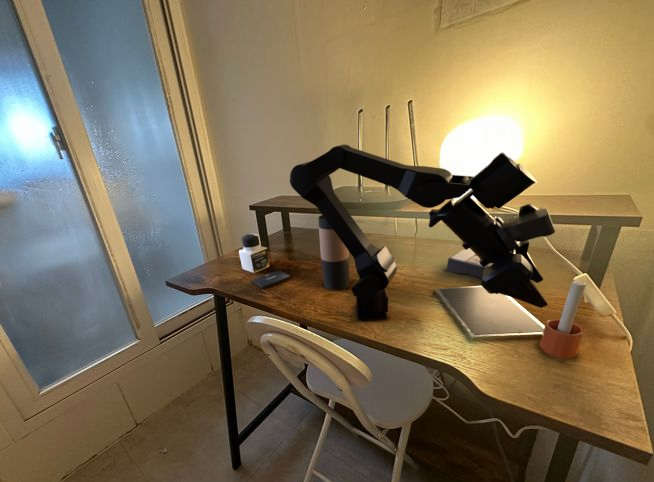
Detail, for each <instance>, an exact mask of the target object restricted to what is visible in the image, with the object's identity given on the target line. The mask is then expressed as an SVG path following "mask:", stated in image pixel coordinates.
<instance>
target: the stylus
mask: <svg viewBox="0 0 654 482" xmlns="http://www.w3.org/2000/svg"><path fill="white" fill-rule="evenodd" d="M586 286H587V284H586V283H585V282H584V281H581V280H573V281H571V284H570V287H569V290H568V293H567V297H566V300H565V303H564V306H563V309H562V313H561V315H560V322H559V325H558V328H557V331H558V332H561V333H565V334H569V333H570V330H571V327H572V324H573V323H574V322H575V318H576V315H577V312H578V309H579V306H580V303H581V300H582V297H583V295H584V292H585V289H586Z"/></svg>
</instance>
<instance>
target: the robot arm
mask: <svg viewBox="0 0 654 482" xmlns="http://www.w3.org/2000/svg"><path fill="white" fill-rule="evenodd" d="M339 169H341V170H344V171H346V172H349V173H352V174H355V175H357V176H359V177H360V176H361V177H363V178H366V179H369V180H371V181H374V182H377V183H380V184H382V185H385V186H388V187H391V188H393V189H394V190H396V191H398V192H399V193H400V194H402V196H403V197H404V198H406V199H408V200H409V201H412V202H413V203H415V204H417V205H418V206H420V207H423V208H425V209H430V211H429V212H428V216H429V220H428V227H429V228H434V227H435V226H436V225H438V224H439V222H442V223H443V224H444V225H445V226H446V227H447V228H448V229H449V230H450V231H451V232H452V233H453V234H454V235H456V237H457V238H458V239H460V241H461V242H462V243H461V244H462V245H461V247H463V249H466V250H467V249H468V248H470V249H471V250H472V251H473V252H474V253H475V254H476V255H477V256H478V257H479V258H480V262H479V263H480V264H481V265H482V266H483V267H485V266H486V265H488V264H490V263H492V265H491V266H489V267H487V268H485V269H484V270H483V276H482V278H481V283H480V286H482V287H483V288H484V289H485V290H486V291H487V292H488V293H489V294H493V293H495V294H498V293H499V294H503V295H506V296H509V297H511V298H512V299H514V300H518V301H521V302H524V303H526V304H528V305H532V306H535V307H537V308H540V309H542V308H545V307H547V306H548V305H549V304H548V301H547V300H546V299H545V297H544V296H543V295H542V293H541V291H540V290H539V289H538V288H537V286H536V285H535V283H536V284H539V283H541V282H543V281H544V277H543V276H542V274H541V272H540V271H539V268H538V267H537V266H536V264H535V262H534V261H533V259H532V257H531V256H530V253H529V247H530V240H533V239H537V238H540V237H543V238H546V237H548V236H551V235H554V234H555V233H556V230H555V227H554V224H553V221H552V219H551V215H550V213H549V210H548V208H547V207H544V206H541V207H539V208H538V207H537V206H535V205H534V204H532V203H527V204H525V205H521V206H520V207H519V209H518V213H517V216H516V215H514V216H512V218H510V219H507V220H503V219H502V218H501V217H500V216H496V215H494V216H492V215H491V214H489V212H488V211H486V210H485V209H484V208H486V209H491V210H493V209H494V208H496V209H499V210H500V209H502V208H503V207H505V206H506V205H507V204H509V203H510V202H511V201H513V200H514V199H516V198H517V197H519V196H520V195H522V194H523V193H524V192H526V191H527V190H529V189H530V188H532V187H533V186H535V185H536V184H538V181H537V180H536V178H535V177H533V175H532V174H531V173H530V172H529V171H528V170H527V169H526V168H525V167H524V166H523V165H521V163H517V162H516V161H514V160H513V159H512V158H511V157H509V156H508V155H506V154H505V152H499V154H497V155H496V156H495V157H494V158H493V159H492V160H491V161H490V163H489V164H488V165H486V166H484V168H483V169H481V170H480V171H479V172H477V173H476V174H475V175H474V176H471V175H461V174H460V175H459V174H452V173H451V172H450V171H449V170H448V169H446V168H443V167H442V168H441V167H434V166H433V167H432V166H427V165H426V166H425V165H410V164H404V163H400V162H397V161H395V160H391V159H389V158H385V157H382V156H378V155H377V154H373V153H369V152H366V151H363V150H360V149H357V148H354V147H352V146H351V145H349V144H343V143H342V144H340V145H339V144H338V145H336V146H333V147H332V148H330V149H329V150H328V151H326V152H325V153H323V154H322V155H320V156H318V157H316V158H315V159H312V160H310V161H306V162H303V163H299V164H296V165H295V166H294V167H292V169H291V170H290V175H289V184H290V186H291V188H292V189H293V191H295V192H296V193H297V194H298V195H299V196H300V197H301V198H302V199H303V200H305V201H307V202H308V203H310V204H312V205H314V206H315V207H316V208H317V210H318V211H319V213H320V214H321V215H323V216H324V218H325V219H326V220H327V222H328V223H329V225H330V226H331V227H332V229H333V230H334V231H335V233H336V234H337V236H338V237H339V238H340V240H341V241H342V242H343V244H344V245H345V246H346V248H347V249H348V251H349V254H350V255H351V256H352V258H353V260H354V265H355V270H356V273H357V275H358V277H359V278H358V280H356V282H355V283H354V284H353V285H352V286H351V288H350V289H351V292H352V294H353V297H355V305H354V308H355V313H356V317H357V320H358V321H374V320H375V321H376V320H387V319H388V315H387V313H388V312H389V295H388V294H387V291H386V289H387V287H388V286H389V284H390V283H391V281H392V280H393V278H394V277H395V275H396V274H397V269H398V267H397V264H396V261H397V259H396V258H395V257H394V256H393V255H392V254H391V253H390V251H389V249H388V247H387V246H386V245H383V246H382V247H381V248H378V247H377V246H375V245H374V244H372V242H371V241H370V240H369V239H368V237H367V236H366V234H365V233H364V232H363V230H362V229H361V227H360V226H359V225H358V224H357V222H356V221H355V219H354V218H353V216H352V215H351V213H350V212H349V211H348V210H347V208H346V207H345V206H344V204H343V203H342V202H341V200H340V199H339V197H338V196H337V194H336V193H335V192H334V187H333V182H332V178H331V176H330V175H332V174H333V173H335V172H337V171H338V170H339ZM472 196H473V197H474V198H475V199H476V200H477V201H478V202H477V201H476V200H475V199H474V198H473V197H472ZM458 198H459V199H458ZM457 199H458V200H457ZM447 200H448V201H447ZM446 201H447V202H446ZM443 203H444V204H443ZM479 203H480V204H479ZM442 204H443V205H442ZM441 205H442V206H441ZM481 205H482V206H483V207H482V206H481ZM437 206H440V208H437V209H435V208H436V207H437Z"/></svg>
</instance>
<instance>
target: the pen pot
mask: <svg viewBox="0 0 654 482" xmlns="http://www.w3.org/2000/svg"><path fill="white" fill-rule="evenodd" d="M560 319H561V318H560ZM560 319H559V318H553V319H549V320H547V321H546V322H545V324H544V326H545V327H544V331H543V334H542V337H540V340H539V347H540V349H541V350H542V351H544V352H545V353H546V354H548V355H550V356H553V357H555V358H560V359H561V358H562V359H572V358H575V357H576V356H577V354H578V352H579V349H580V346H581V344H582V340H583V338H584V335H585V333H586V331H585V329H584V327H582V326H581V325H579V324H578V323H576V322H573V324H572V327H571V330H570V333H569V334H565V333H561V332H558V331H557V328H558V325H559V322H560Z"/></svg>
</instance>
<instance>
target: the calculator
mask: <svg viewBox="0 0 654 482" xmlns="http://www.w3.org/2000/svg"><path fill="white" fill-rule="evenodd" d="M479 262H480V258H479V257H478V256H477V255H476V254H475V253H474V252H473V251H472V250H471V249H470V248H468V249H467V250H466V249H465V248H463V249H462V250H459V251H458V252H456V253H455V254H454V255H452V256H450V257H449V258H448V259H447V264H446V271H448V272H451V273H455V274H466V275H469V276H472V277H477V278H480V279H482V276H483V270H484V269H485V268H487V267H489V266H491V265H492V263H490V264H488V265H486V266H485V267H483V266H482V265H481V264H480V263H479Z"/></svg>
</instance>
